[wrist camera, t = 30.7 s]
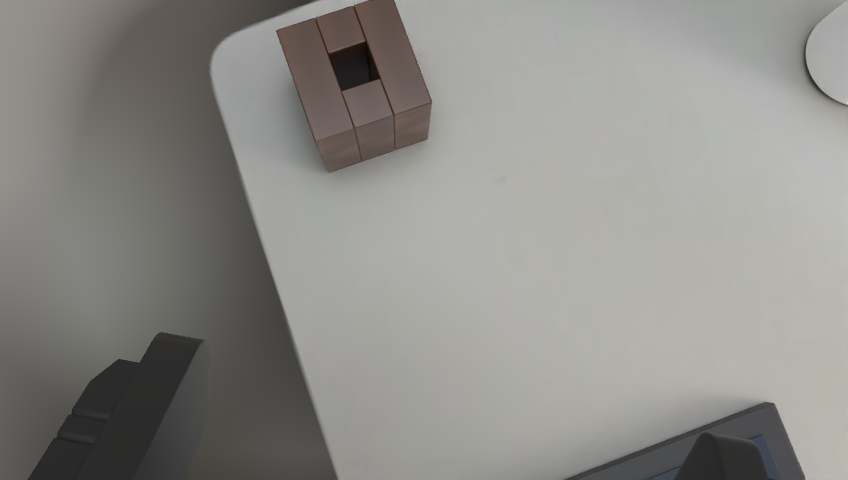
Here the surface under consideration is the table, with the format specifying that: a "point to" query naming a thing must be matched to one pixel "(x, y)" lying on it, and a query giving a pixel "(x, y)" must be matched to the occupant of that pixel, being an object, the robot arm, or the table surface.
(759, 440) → the tablet
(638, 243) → the table surface
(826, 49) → the can
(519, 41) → the table surface
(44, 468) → the robot arm
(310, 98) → the pen holder
